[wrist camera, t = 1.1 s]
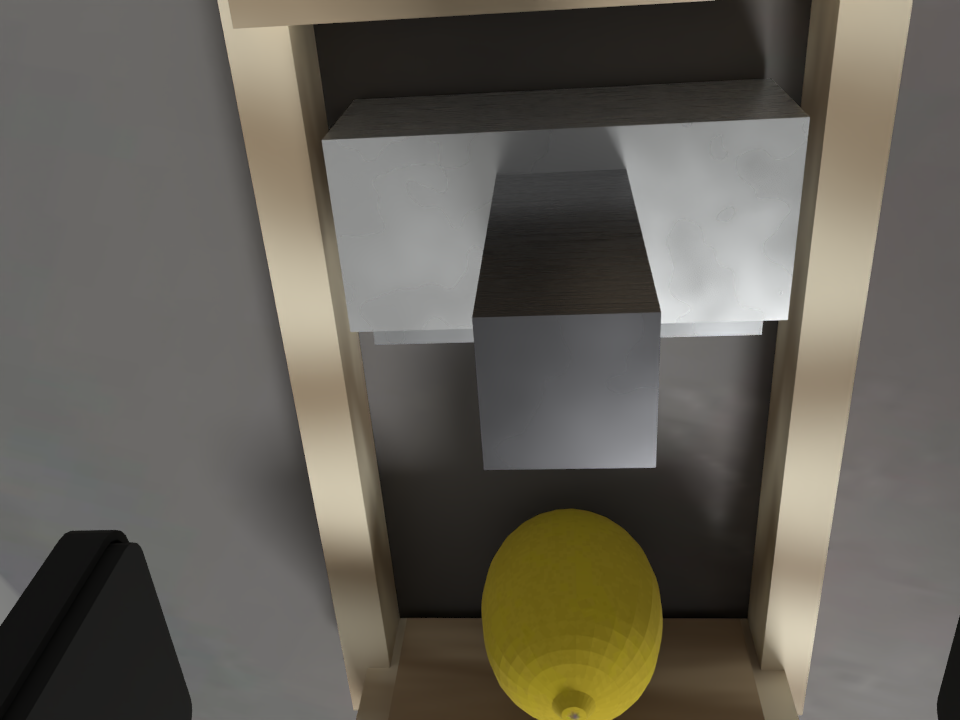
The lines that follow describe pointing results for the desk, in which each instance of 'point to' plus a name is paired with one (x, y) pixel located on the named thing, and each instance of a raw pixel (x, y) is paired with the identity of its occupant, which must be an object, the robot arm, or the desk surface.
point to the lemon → (572, 617)
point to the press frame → (793, 403)
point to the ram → (568, 244)
